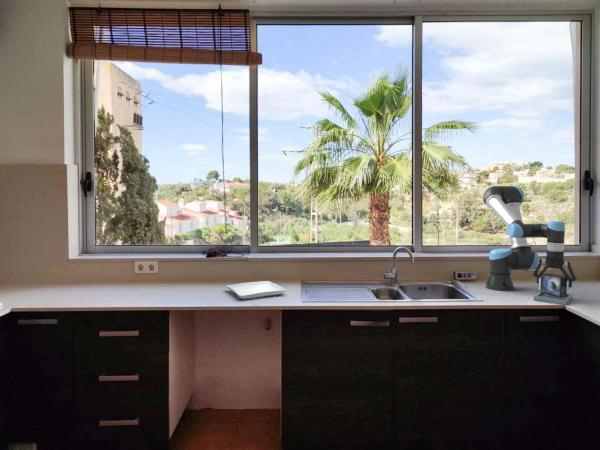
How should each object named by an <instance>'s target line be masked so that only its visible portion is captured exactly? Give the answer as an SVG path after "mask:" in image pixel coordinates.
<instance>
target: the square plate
mask: <svg viewBox="0 0 600 450" xmlns="http://www.w3.org/2000/svg"><path fill="white" fill-rule="evenodd" d="M226 287H227V289H228V290H230V291H231V292H233V293H234V294H235V295H236V296H237V297H238V298H240V299H241V300H246V299H256V298H257V297H258V298H264V296H265V297H270V296H271V297H272V295H273V296H277V295H281V294H284V293H285V292H287V289H286V288H285V287H282V286H280V285H278V284H277V283H275V282H272V281H270V280H263V281H251V282H250V281H249V282H242V283H241V282H240V283H235V284H228V285H226Z"/></svg>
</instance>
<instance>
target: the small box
mask: <svg viewBox="0 0 600 450" xmlns="http://www.w3.org/2000/svg"><path fill="white" fill-rule="evenodd" d="M567 281H569V280H568V279H567V278H566V276H565V275H561V274H560V275H559V274H554V273H551V272H550V273H549V272H548V273H543V274H542V275H541V290H540V291H541V293H542V294H547V295H551V296H555V297H559V298H561V297H567V294H566V290H567Z"/></svg>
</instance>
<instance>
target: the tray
mask: <svg viewBox="0 0 600 450" xmlns="http://www.w3.org/2000/svg"><path fill="white" fill-rule="evenodd" d="M573 298H574V294H573V293H569V294H567V297H561V298H559V297H555V296H551V295H547V294H542V293H541V290H539V292H537V293H536V294H534V295H533V301H537V302H543V303H549V304H553V305H554V304H555V305H562V306H567V305H568V304H569V303H571V301H573Z"/></svg>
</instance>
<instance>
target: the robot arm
mask: <svg viewBox="0 0 600 450" xmlns="http://www.w3.org/2000/svg"><path fill="white" fill-rule="evenodd" d="M482 196H483V197H482V200H483V203H484V204H485V206H486V207H487V208H489V209H491V210H492V212H493V213H494V214H496V215H497V217H498V218H499V219H500V220H501V221H502V223H503V224H504V225H505V226H506V232H507V235H508V237H509V240H510V244H511V246H510V248H508V247H507V248H495V249H492V250H490V251H489V257H488V259H489V260H488V261H489V263H488V267H489V268H488V276H487V278H486V281H485V286H484V287H485V288H487V289H490V290H495V291H505V292H506V291H507V292H509V291H514V289H515V284H514V281H513V278H512V271H533V270H534V272H533V274H532V276H533V277H536V284H537V285H538V291H541V275H542V274H545V273H546V271H547V270H548V269H556V270H558V269H559V270H560V271H561V272H562V274H563V276H566V278H567V279H568V281H567V290H566V294H570V288H572V287H573V282H575V281H576V280H577V277H576V273H575V272H574V269H573V267H572V262H571V261H570V260H569V261H565V260H564V259H565V256H564V255H565V238H566V237H565V235H566V234H565V232H566V226H565V225H566V224H565V222H564V221H562V220H549V221H547V223H524V222H523V217H522V213H521V208H520V207H521V206H522V204H523V202H524V200H525V193H524V191H523V189H522V187H519V186H517V185H516V186H515V185H493V186H490V187H488V188H487V189H486V190H485V191H484V193H483V195H482ZM527 238H528V239H529V238H533V239H534V238H537V239H538V238H541V239H542V238H543V239H546V259H543V258H540V257H539V254H538V253H537V252H536V251H535V250H533V248H532V246H531V245H530V244H528V240H527ZM539 258H540V259H539ZM544 263H545V264H546V266H545V267H544V268H543V269H542V270H541V271H540V269H541V268H542V265H543V264H544ZM564 264H565V265H566V266H567V269H568V271H569V273H570V275H571V276H570V275H569V273H568V272H567V270H566V269H565V267H564V266H563V265H564ZM539 271H540V272H539Z"/></svg>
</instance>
